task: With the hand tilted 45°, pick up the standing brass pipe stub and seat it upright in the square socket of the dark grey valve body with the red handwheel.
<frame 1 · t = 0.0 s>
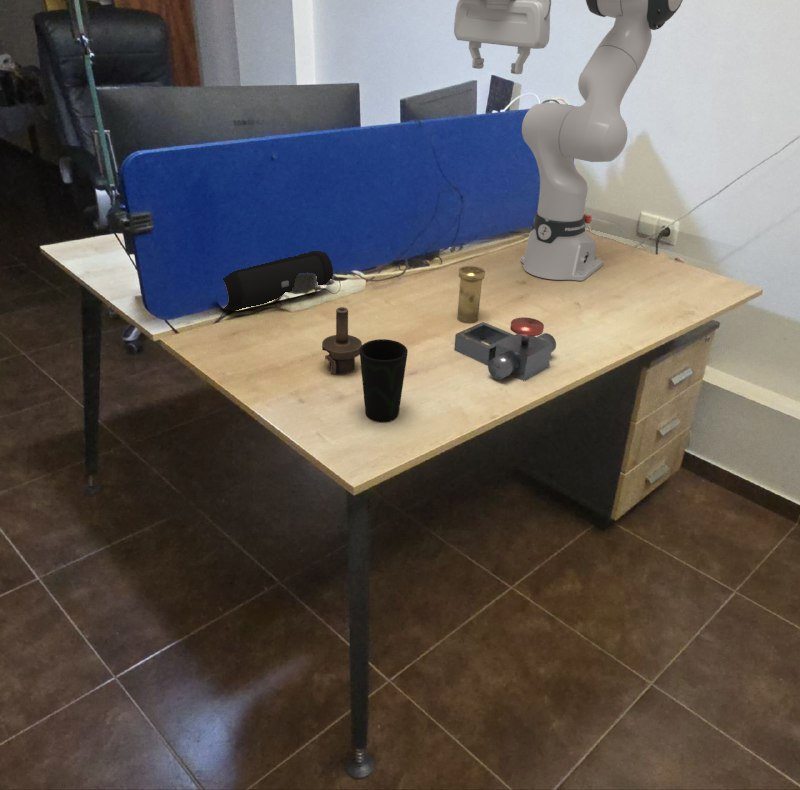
hand: (496, 71, 135), 48 cm above the table, tool pointing down, fingers open, 8 cm apart
portable speaker: (275, 301, 157), on the table
valve body: (484, 350, 139), on the table
pipe stub: (467, 318, 152), on the table
industrial component: (345, 368, 131), on the table
cup: (381, 414, 118), on the table
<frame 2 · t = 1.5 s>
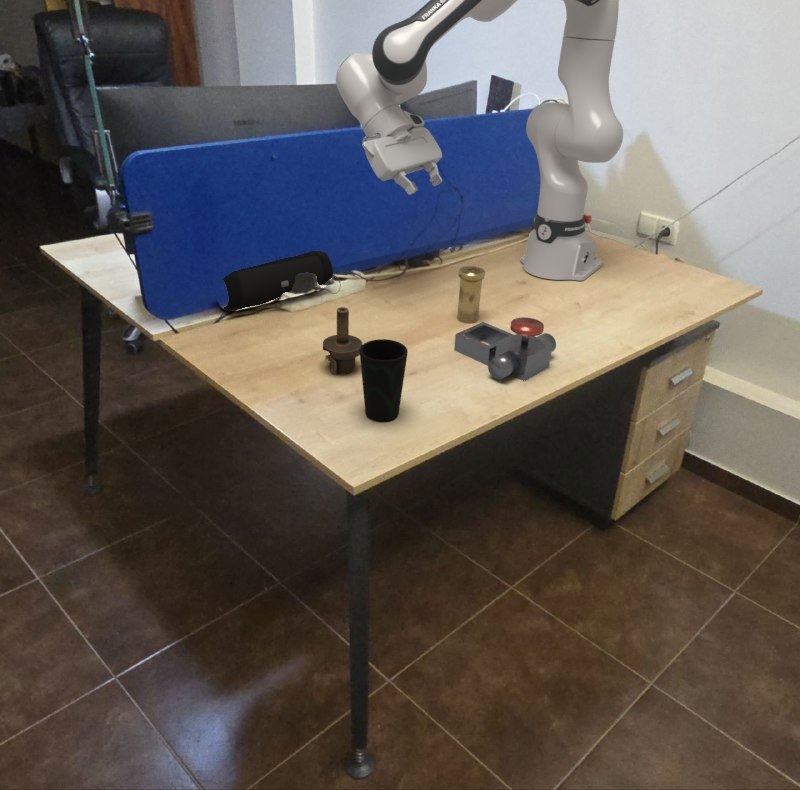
hand: (426, 188, 144), 26 cm above the table, tool tilted 45°, fingers open, 8 cm apart
nothing on the table moved.
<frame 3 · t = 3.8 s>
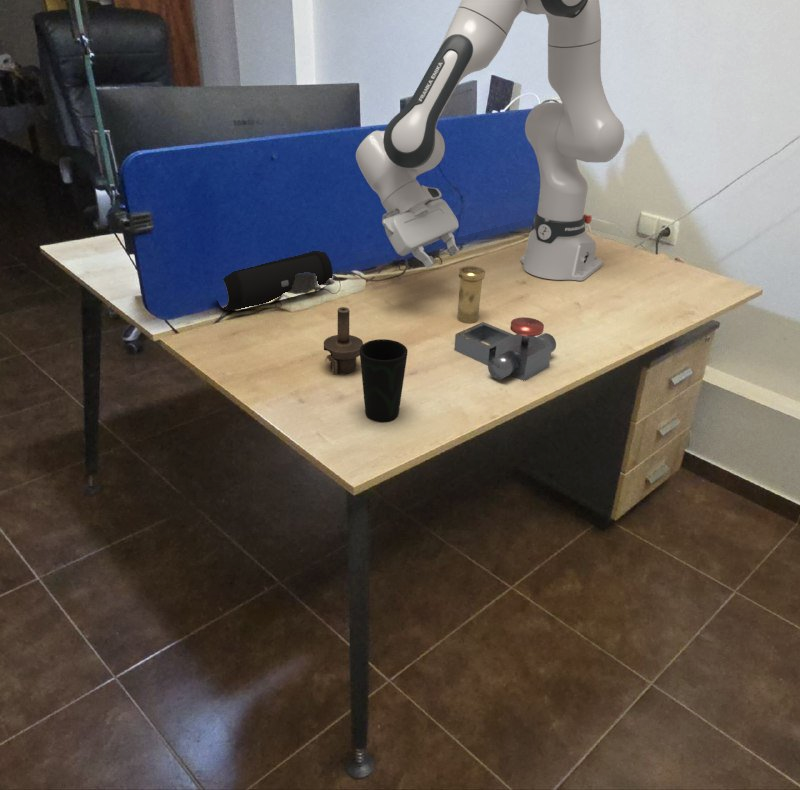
hand: (443, 259, 149), 12 cm above the table, tool tilted 45°, fingers open, 8 cm apart
nothing on the table moved.
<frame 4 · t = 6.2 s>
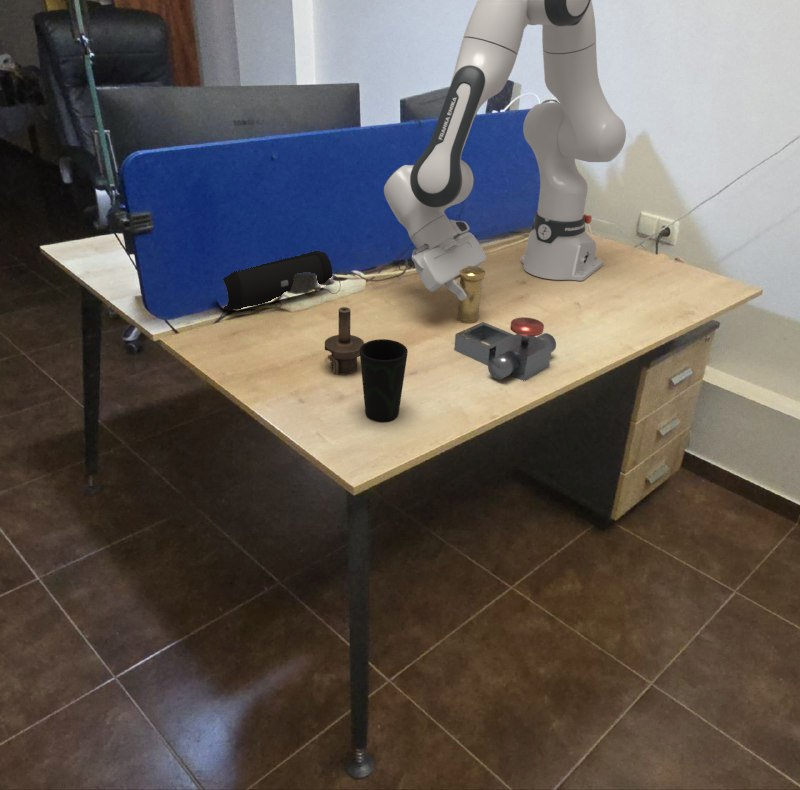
hand: (472, 294, 148), 6 cm above the table, tool tilted 45°, fingers closed on pipe stub, 4 cm apart
pipe stub: (467, 318, 152), on the table, touching gripper
everything else where it was.
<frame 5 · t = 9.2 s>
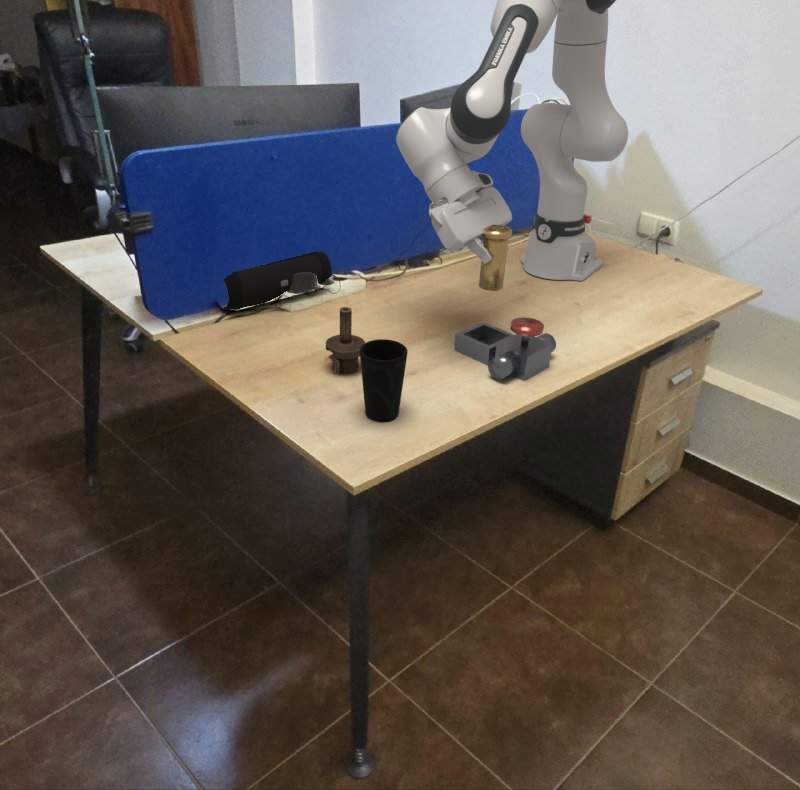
hand: (497, 256, 129), 20 cm above the table, tool tilted 45°, fingers closed on pipe stub, 4 cm apart
pipe stub: (490, 286, 132), point 14 cm above the table, touching gripper
everything else where it was.
when the fingers open (8 cm above the table, at t = 12.4 s): pipe stub drops 2 cm, resting in valve body.
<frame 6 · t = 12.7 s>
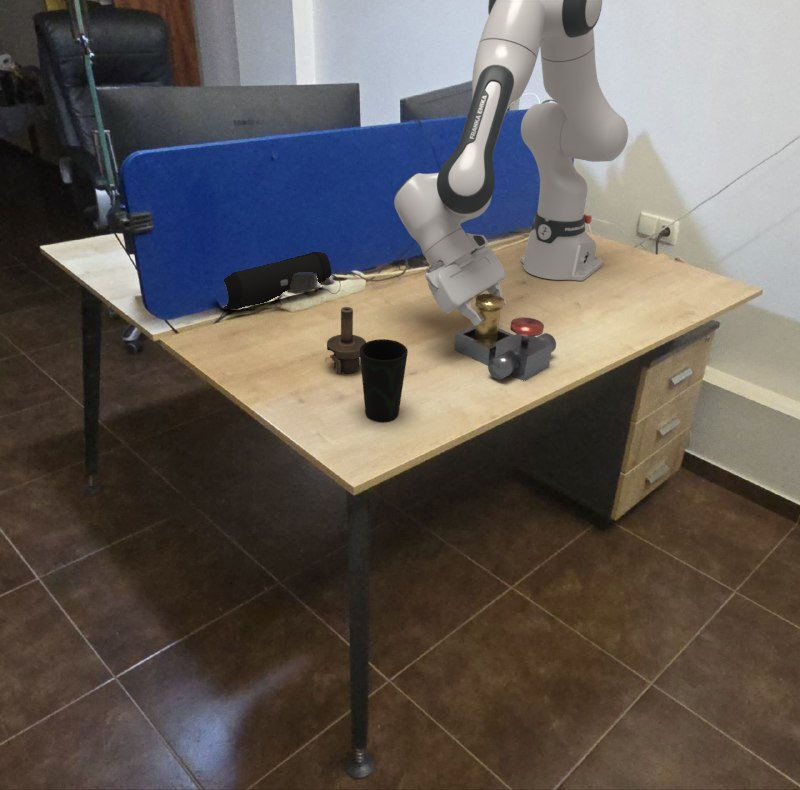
hand: (491, 315, 135), 8 cm above the table, tool tilted 45°, fingers open, 8 cm apart
pipe stub: (484, 350, 139), resting in valve body
everything else where it was.
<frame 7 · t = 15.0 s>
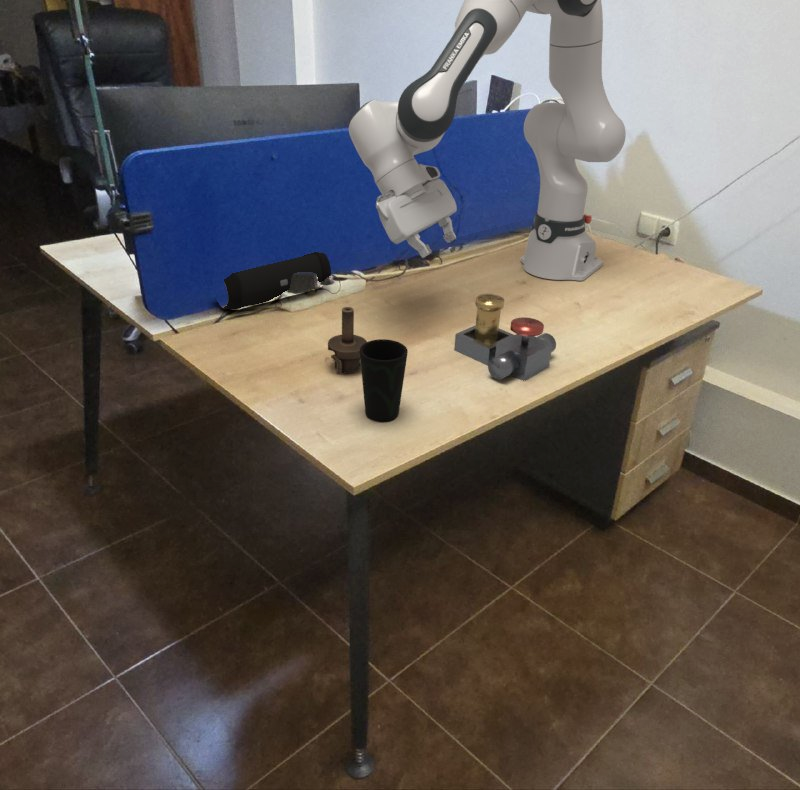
hand: (440, 248, 137), 18 cm above the table, tool tilted 40°, fingers open, 8 cm apart
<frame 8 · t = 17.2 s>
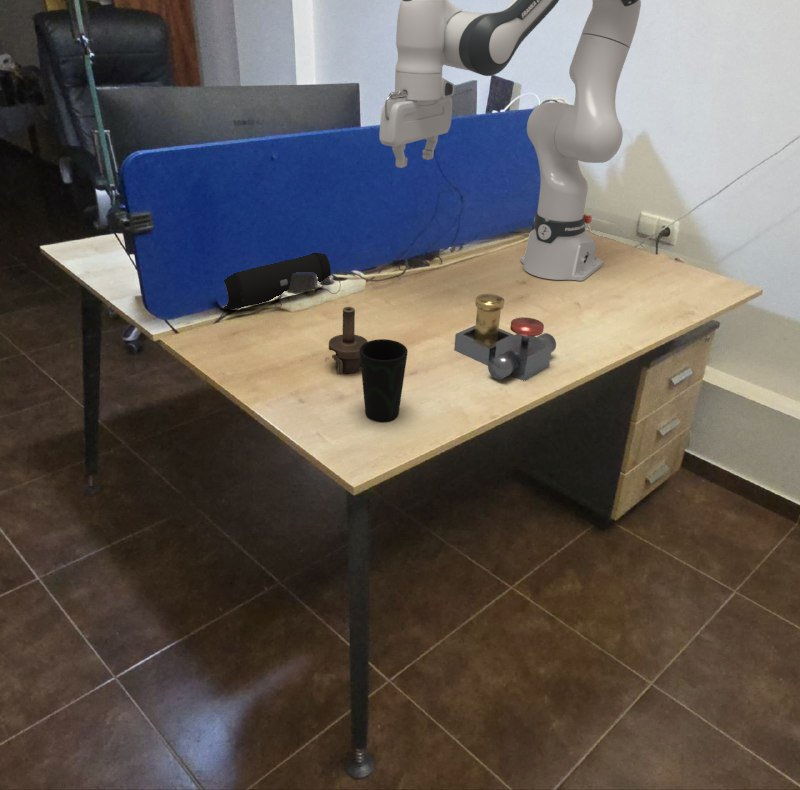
hand: (414, 162, 140), 31 cm above the table, tool pointing down, fingers open, 8 cm apart
at the end: pipe stub 0.0 cm off-centre on the valve body, point 0.0 cm above the valve body's base; pipe stub tilted 0°; the gripper is holding nothing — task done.
